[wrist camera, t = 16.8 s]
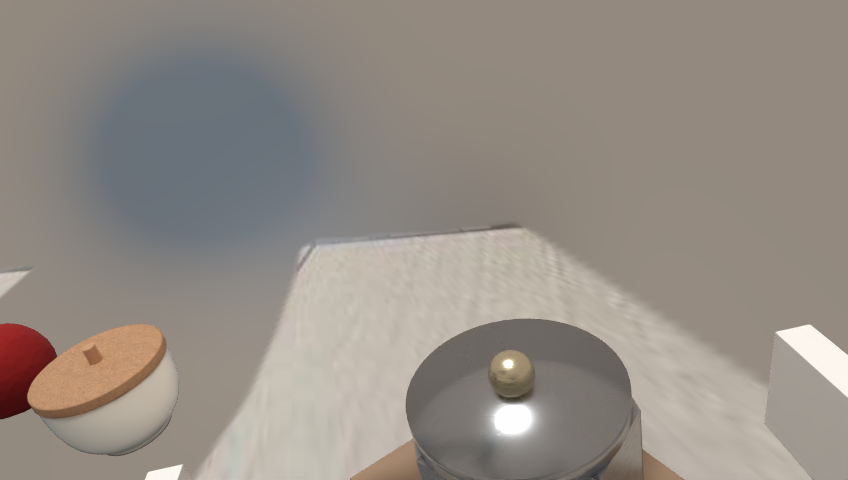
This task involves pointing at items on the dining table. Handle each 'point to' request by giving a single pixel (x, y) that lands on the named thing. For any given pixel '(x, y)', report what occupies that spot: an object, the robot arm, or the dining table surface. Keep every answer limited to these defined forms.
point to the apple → (20, 365)
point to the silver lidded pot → (524, 407)
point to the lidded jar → (109, 391)
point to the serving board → (400, 476)
